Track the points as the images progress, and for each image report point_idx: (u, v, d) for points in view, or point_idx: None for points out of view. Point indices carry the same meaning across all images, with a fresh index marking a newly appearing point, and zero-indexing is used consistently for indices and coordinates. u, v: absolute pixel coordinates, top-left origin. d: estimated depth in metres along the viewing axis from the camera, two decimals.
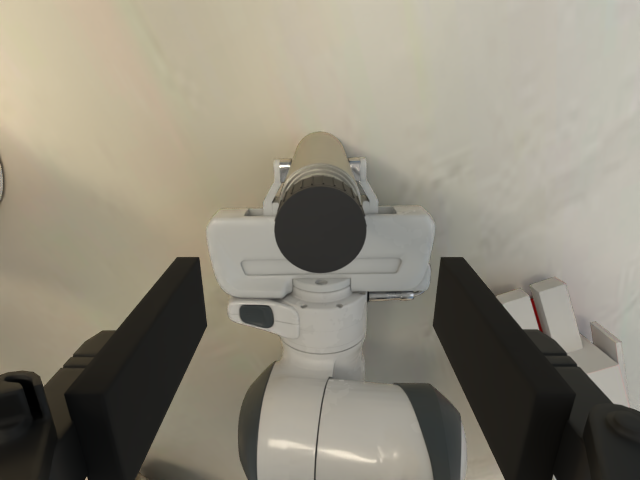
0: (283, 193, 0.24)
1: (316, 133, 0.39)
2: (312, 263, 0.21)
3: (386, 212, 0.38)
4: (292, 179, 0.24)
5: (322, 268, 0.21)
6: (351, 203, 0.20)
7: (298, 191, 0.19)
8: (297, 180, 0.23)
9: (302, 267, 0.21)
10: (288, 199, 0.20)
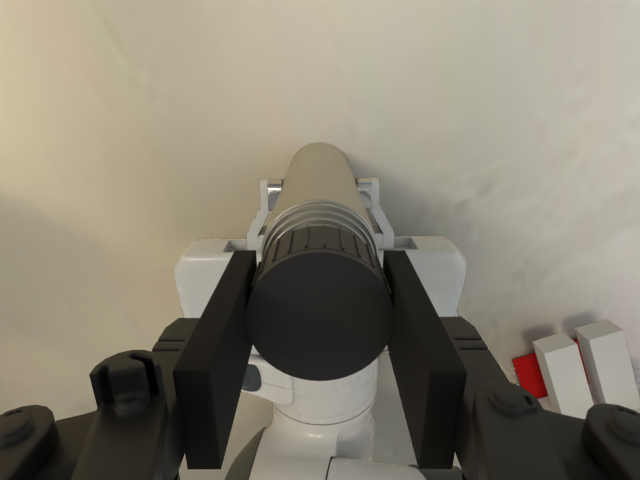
0: (265, 243, 0.16)
1: (315, 145, 0.31)
2: (307, 367, 0.13)
3: (403, 244, 0.30)
4: (278, 224, 0.16)
5: (323, 374, 0.13)
6: (370, 278, 0.12)
7: (283, 259, 0.12)
8: (285, 226, 0.16)
9: (291, 373, 0.13)
10: (267, 272, 0.12)
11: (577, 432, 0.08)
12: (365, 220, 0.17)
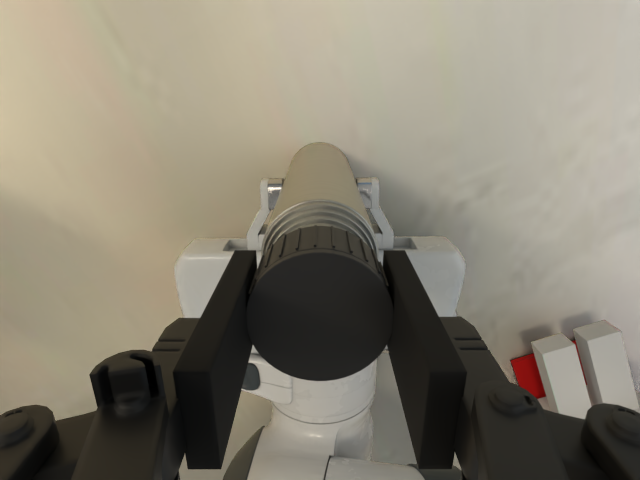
0: (266, 242, 0.17)
1: (315, 145, 0.31)
2: (377, 320, 0.12)
3: (402, 244, 0.30)
4: (279, 223, 0.16)
5: (383, 304, 0.12)
6: (260, 289, 0.12)
7: (267, 360, 0.13)
8: (286, 225, 0.16)
9: (387, 333, 0.13)
10: (282, 371, 0.13)
11: (577, 432, 0.08)
12: (365, 220, 0.17)
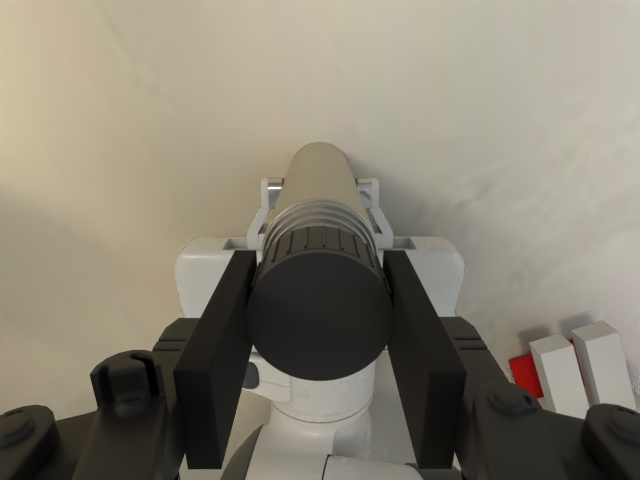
0: (266, 241, 0.17)
1: (315, 144, 0.31)
2: (304, 270, 0.12)
3: (402, 244, 0.30)
4: (279, 222, 0.16)
5: (284, 270, 0.12)
6: (300, 373, 0.13)
7: (378, 354, 0.13)
8: (286, 224, 0.16)
9: (316, 257, 0.12)
10: (387, 341, 0.13)
11: (577, 432, 0.08)
12: (365, 219, 0.17)
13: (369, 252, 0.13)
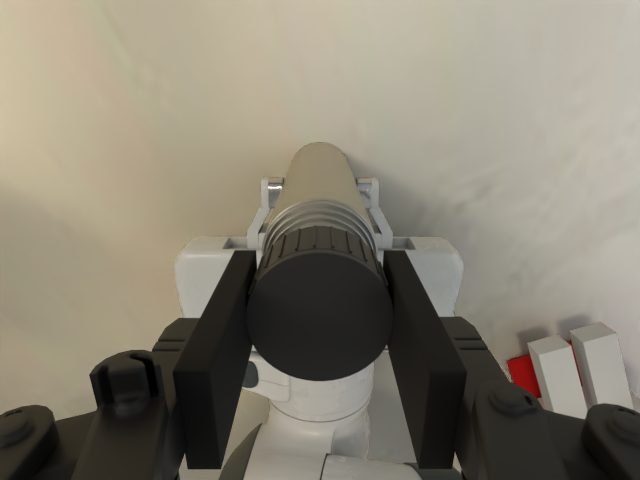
0: (267, 240, 0.17)
1: (316, 144, 0.31)
2: (270, 345, 0.13)
3: (401, 245, 0.30)
4: (280, 221, 0.16)
5: (275, 360, 0.13)
6: (387, 325, 0.13)
7: (346, 256, 0.12)
8: (287, 224, 0.16)
9: (254, 339, 0.13)
10: (326, 254, 0.12)
11: (577, 432, 0.08)
12: (365, 219, 0.17)
13: (258, 266, 0.13)
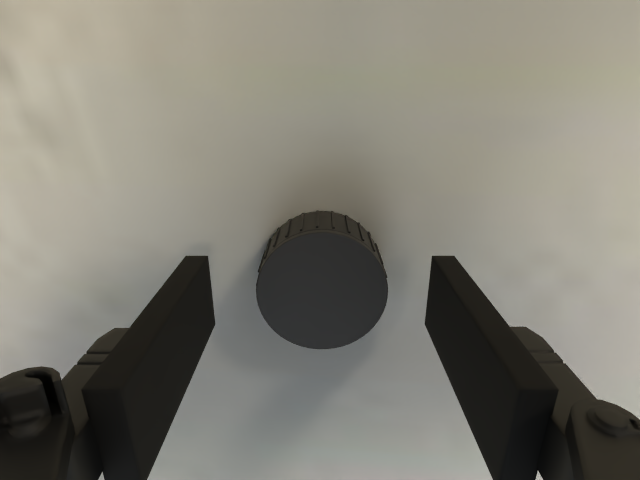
0: None
1: None
2: (278, 315, 0.14)
3: None
4: None
5: (282, 329, 0.15)
6: (381, 297, 0.14)
7: (345, 235, 0.13)
8: None
9: (263, 310, 0.14)
10: (327, 233, 0.13)
11: None
12: None
13: None
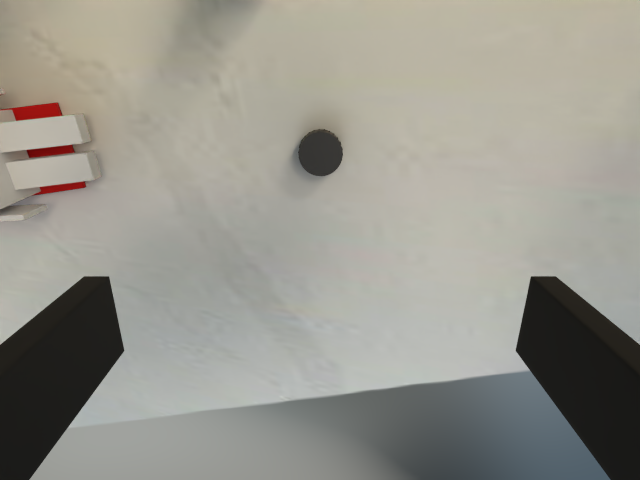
0: None
1: None
2: (305, 162, 0.43)
3: None
4: None
5: (307, 168, 0.43)
6: (340, 155, 0.43)
7: (328, 133, 0.42)
8: None
9: (301, 160, 0.43)
10: (322, 132, 0.42)
11: None
12: None
13: None
